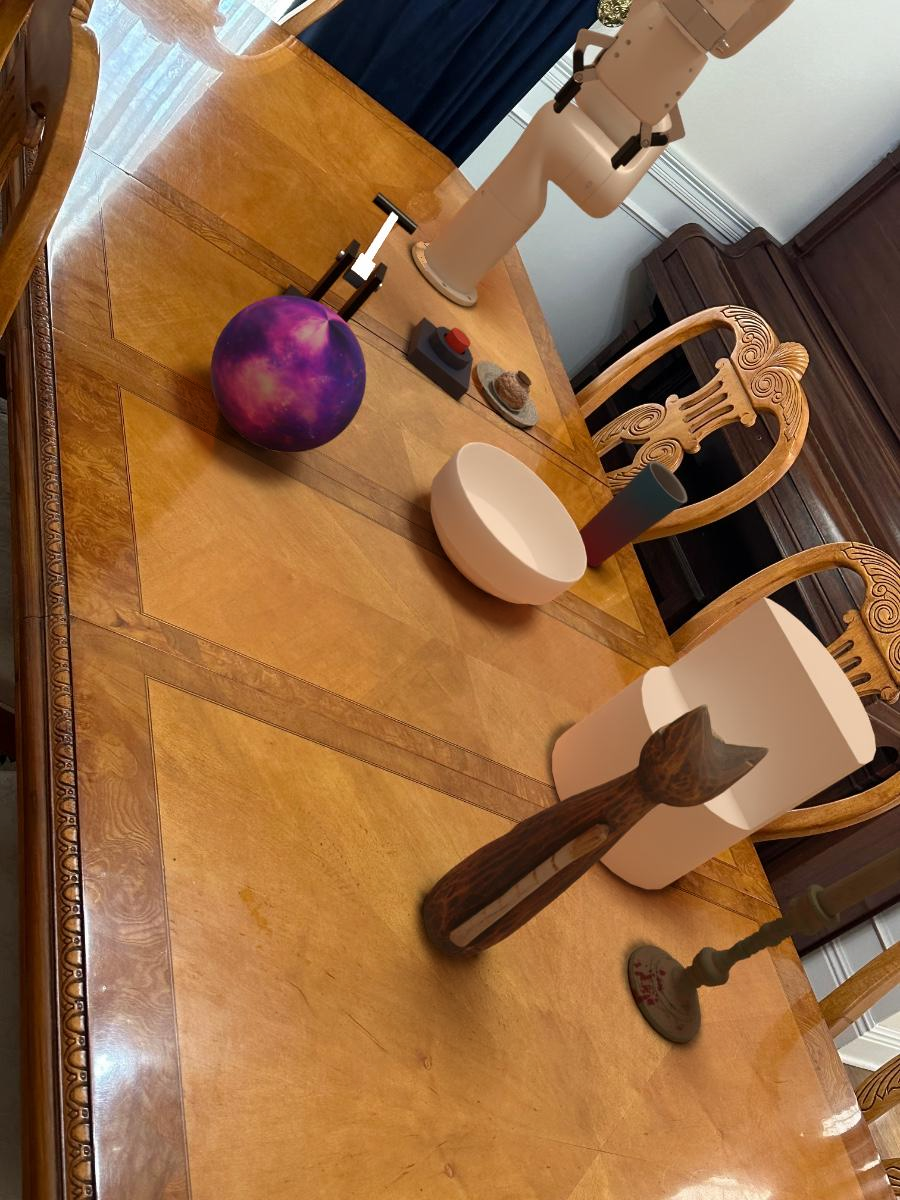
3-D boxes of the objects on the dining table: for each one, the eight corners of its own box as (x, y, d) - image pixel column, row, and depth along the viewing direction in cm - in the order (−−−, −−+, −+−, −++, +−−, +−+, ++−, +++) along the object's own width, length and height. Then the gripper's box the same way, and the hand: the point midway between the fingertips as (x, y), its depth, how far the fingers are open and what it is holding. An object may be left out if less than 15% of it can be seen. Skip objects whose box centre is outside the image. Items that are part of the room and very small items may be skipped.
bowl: (553, 586, 142) (603, 544, 138) (508, 653, 125) (562, 608, 121) (443, 468, 141) (489, 423, 137) (381, 520, 124) (432, 470, 120)
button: (445, 332, 157) (453, 323, 157) (462, 347, 159) (471, 339, 158) (443, 342, 155) (451, 333, 154) (461, 358, 156) (469, 349, 155)
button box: (414, 327, 161) (432, 307, 159) (463, 368, 164) (482, 349, 162) (406, 358, 153) (425, 337, 151) (457, 401, 156) (477, 381, 154)
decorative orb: (156, 360, 114) (242, 248, 106) (265, 376, 126) (349, 277, 118) (223, 480, 109) (318, 372, 102) (329, 485, 121) (421, 389, 114)
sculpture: (500, 930, 97) (784, 745, 82) (452, 985, 90) (756, 792, 75) (450, 864, 98) (723, 669, 83) (398, 913, 90) (688, 708, 76)
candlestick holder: (620, 934, 108) (890, 772, 93) (685, 963, 113) (952, 813, 98) (637, 1028, 102) (930, 870, 87) (705, 1055, 106) (995, 908, 91)
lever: (373, 197, 139) (382, 187, 137) (412, 231, 141) (422, 221, 139) (328, 266, 133) (337, 257, 131) (369, 300, 135) (378, 291, 133)
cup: (602, 552, 158) (685, 483, 151) (603, 581, 153) (689, 511, 145) (566, 523, 156) (648, 451, 149) (566, 551, 151) (651, 479, 143)
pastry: (462, 378, 162) (484, 355, 159) (485, 358, 172) (506, 336, 170) (522, 440, 163) (544, 418, 160) (541, 416, 173) (563, 395, 171)
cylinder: (640, 744, 133) (816, 620, 121) (702, 896, 122) (903, 777, 110) (530, 715, 121) (714, 574, 108) (588, 881, 110) (800, 746, 98)
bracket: (285, 290, 141) (344, 218, 135) (343, 337, 144) (403, 269, 138) (268, 324, 133) (330, 249, 127) (330, 373, 136) (393, 302, 130)
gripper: (737, 67, 138) (632, 177, 146) (635, -42, 132) (531, 79, 140) (747, 82, 132) (637, 196, 140) (641, -31, 126) (532, 95, 134)
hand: (584, 137), depth 140 cm, fingers open, 9 cm apart
